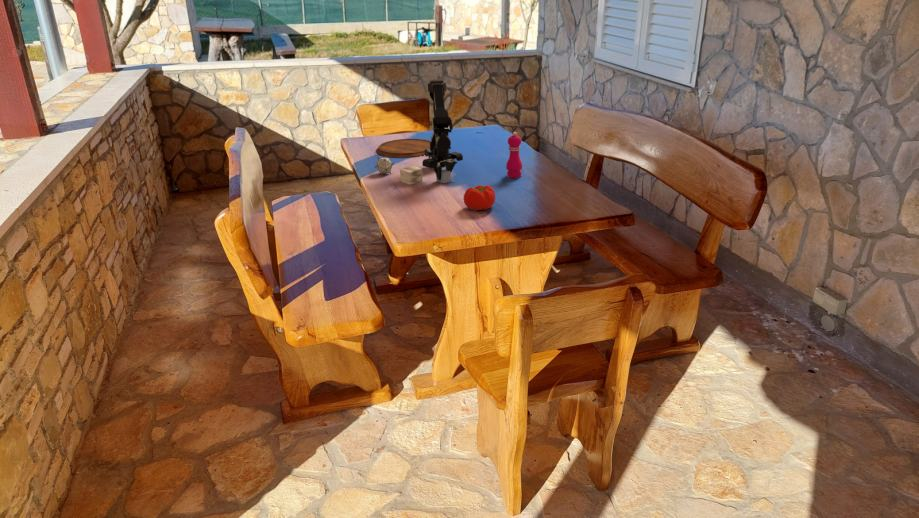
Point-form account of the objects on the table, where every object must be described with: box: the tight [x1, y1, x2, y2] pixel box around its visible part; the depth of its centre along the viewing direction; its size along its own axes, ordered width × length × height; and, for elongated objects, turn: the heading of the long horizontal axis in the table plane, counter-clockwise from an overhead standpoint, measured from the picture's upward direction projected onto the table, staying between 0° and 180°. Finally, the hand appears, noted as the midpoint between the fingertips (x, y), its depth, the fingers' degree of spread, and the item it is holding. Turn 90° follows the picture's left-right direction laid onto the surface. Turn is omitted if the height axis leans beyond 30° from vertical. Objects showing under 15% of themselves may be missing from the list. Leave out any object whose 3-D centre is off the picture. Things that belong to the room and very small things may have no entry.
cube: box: [435, 168, 452, 184], centre depth 278 cm, size 4×4×4 cm
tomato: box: [463, 184, 496, 211], centre depth 245 cm, size 13×12×8 cm
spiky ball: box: [374, 156, 395, 176], centre depth 290 cm, size 9×8×10 cm
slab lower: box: [399, 175, 423, 186], centre depth 280 cm, size 7×7×3 cm
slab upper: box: [399, 165, 424, 179], centre depth 278 cm, size 7×7×3 cm
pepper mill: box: [505, 131, 523, 179], centre depth 279 cm, size 7×7×20 cm
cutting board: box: [376, 138, 431, 159], centre depth 329 cm, size 32×32×2 cm
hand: (443, 178), depth 279 cm, fingers closed on cube, 4 cm apart
